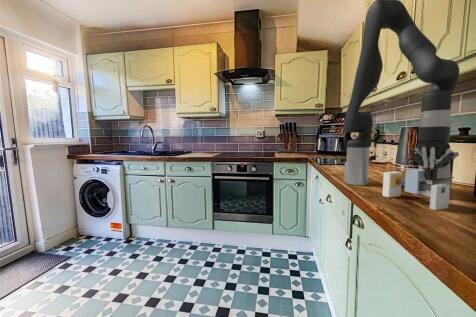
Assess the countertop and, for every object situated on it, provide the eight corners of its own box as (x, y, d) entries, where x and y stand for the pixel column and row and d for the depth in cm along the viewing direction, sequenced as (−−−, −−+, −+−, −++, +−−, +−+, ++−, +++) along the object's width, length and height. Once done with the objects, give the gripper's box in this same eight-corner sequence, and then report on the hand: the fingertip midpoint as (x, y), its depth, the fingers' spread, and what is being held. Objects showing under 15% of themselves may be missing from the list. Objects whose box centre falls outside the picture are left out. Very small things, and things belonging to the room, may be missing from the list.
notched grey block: (404, 191, 78) (405, 169, 77) (413, 190, 79) (415, 168, 78) (416, 194, 74) (418, 171, 73) (426, 192, 75) (428, 170, 74)
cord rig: (382, 195, 85) (383, 172, 84) (394, 194, 87) (395, 171, 86) (435, 210, 68) (437, 181, 67) (448, 207, 70) (450, 179, 69)
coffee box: (451, 198, 80) (455, 153, 78) (430, 198, 81) (434, 153, 79) (434, 192, 88) (437, 151, 87) (416, 191, 90) (418, 151, 88)
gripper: (404, 126, 75) (401, 177, 77) (451, 124, 63) (447, 185, 64) (419, 126, 77) (416, 175, 79) (468, 124, 65) (463, 183, 67)
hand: (430, 180), depth 72 cm, fingers closed
